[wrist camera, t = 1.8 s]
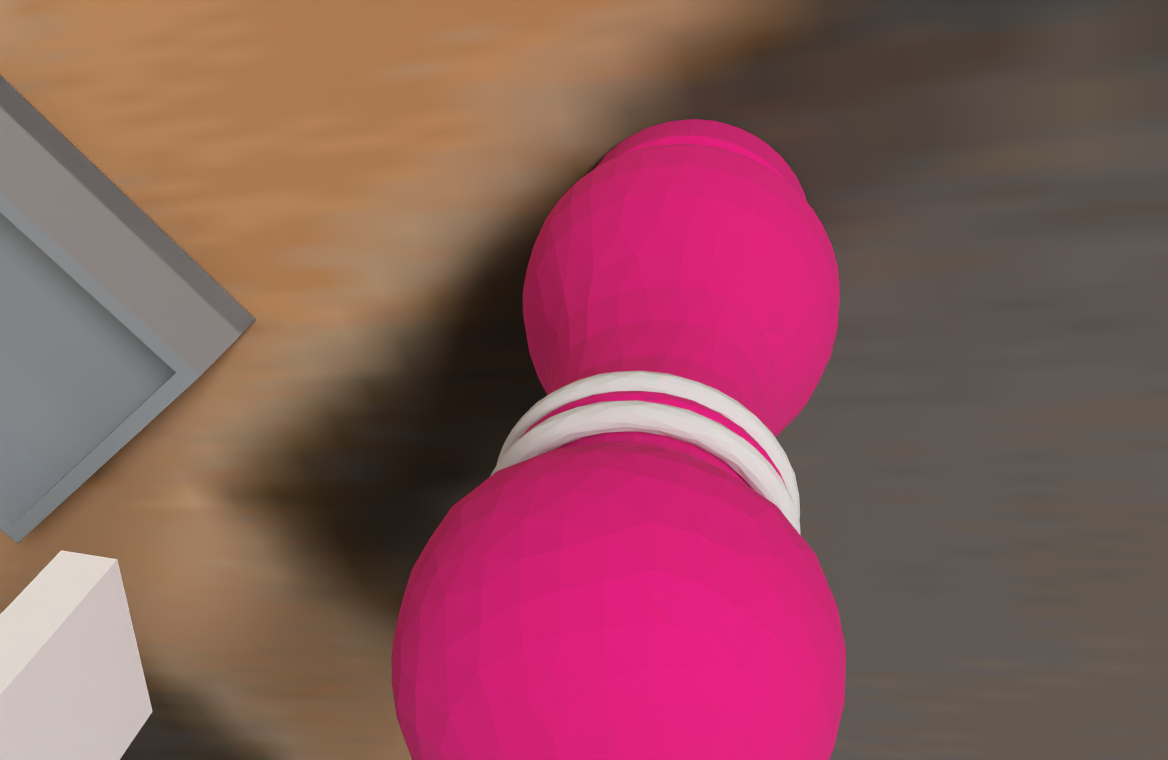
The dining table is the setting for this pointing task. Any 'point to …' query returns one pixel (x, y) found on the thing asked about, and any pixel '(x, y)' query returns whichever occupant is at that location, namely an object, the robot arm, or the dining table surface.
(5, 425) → the tray
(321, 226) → the dining table surface
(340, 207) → the dining table surface
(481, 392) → the dining table surface
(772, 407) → the pepper mill
